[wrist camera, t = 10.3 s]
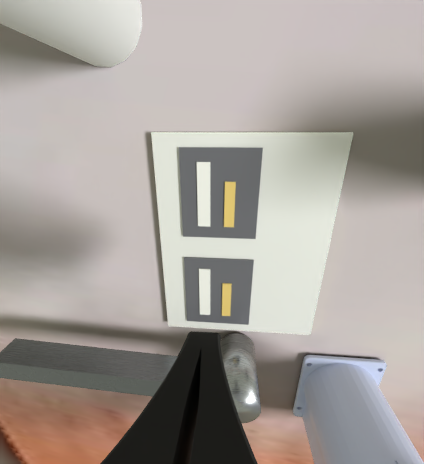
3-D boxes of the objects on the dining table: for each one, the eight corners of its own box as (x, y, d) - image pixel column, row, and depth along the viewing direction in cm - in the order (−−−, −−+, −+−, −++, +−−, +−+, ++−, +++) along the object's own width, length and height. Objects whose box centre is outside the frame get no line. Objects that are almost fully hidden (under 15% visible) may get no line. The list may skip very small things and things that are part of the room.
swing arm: (256, 335, 23) (263, 397, 18) (251, 360, 24) (257, 425, 19) (35, 312, 24) (-23, 363, 19) (43, 337, 26) (-9, 392, 20)
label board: (308, 330, 23) (311, 337, 22) (169, 321, 24) (167, 328, 23) (349, 132, 16) (355, 132, 15) (153, 132, 17) (149, 132, 16)
